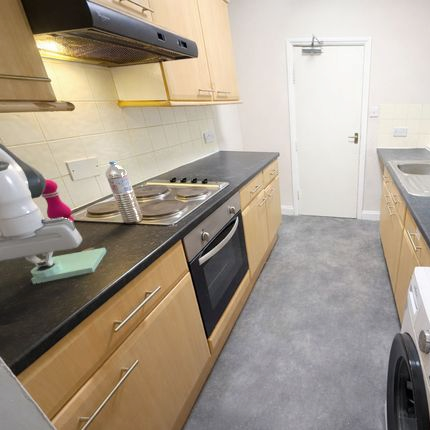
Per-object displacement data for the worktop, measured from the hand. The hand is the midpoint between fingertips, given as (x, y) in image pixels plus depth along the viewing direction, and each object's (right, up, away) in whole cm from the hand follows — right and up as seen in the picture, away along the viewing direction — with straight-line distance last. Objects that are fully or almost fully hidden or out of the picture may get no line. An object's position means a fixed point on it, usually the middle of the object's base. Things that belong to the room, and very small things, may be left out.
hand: (45, 265), depth 76 cm
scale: (+2, -1, +6) cm, 6 cm away
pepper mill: (-28, +11, +34) cm, 46 cm away
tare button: (0, -2, +1) cm, 2 cm away
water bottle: (+1, +12, +34) cm, 36 cm away
